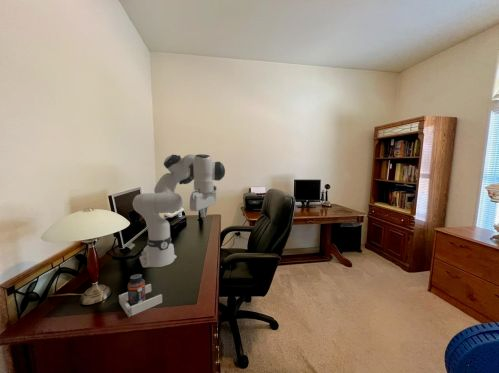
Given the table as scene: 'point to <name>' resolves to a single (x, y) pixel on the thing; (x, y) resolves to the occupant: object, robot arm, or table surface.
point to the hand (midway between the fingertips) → (204, 216)
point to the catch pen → (140, 306)
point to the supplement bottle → (136, 290)
